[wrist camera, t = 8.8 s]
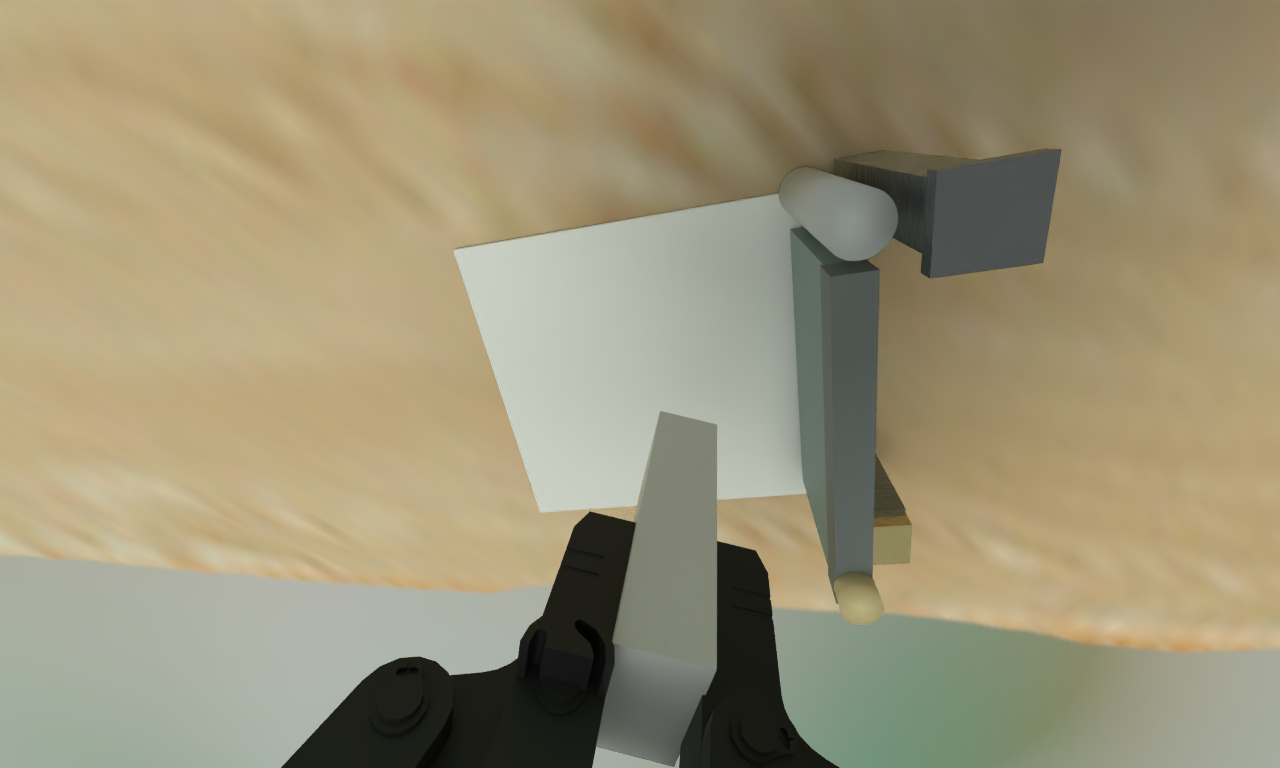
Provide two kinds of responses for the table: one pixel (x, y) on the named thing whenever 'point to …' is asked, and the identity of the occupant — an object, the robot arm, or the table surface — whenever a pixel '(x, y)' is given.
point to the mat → (645, 347)
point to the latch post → (889, 522)
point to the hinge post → (965, 206)
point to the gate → (839, 368)
